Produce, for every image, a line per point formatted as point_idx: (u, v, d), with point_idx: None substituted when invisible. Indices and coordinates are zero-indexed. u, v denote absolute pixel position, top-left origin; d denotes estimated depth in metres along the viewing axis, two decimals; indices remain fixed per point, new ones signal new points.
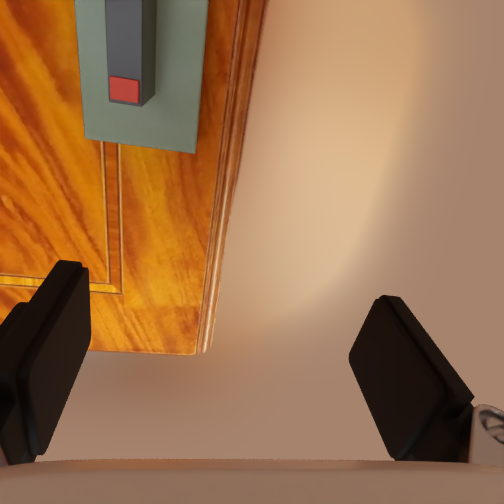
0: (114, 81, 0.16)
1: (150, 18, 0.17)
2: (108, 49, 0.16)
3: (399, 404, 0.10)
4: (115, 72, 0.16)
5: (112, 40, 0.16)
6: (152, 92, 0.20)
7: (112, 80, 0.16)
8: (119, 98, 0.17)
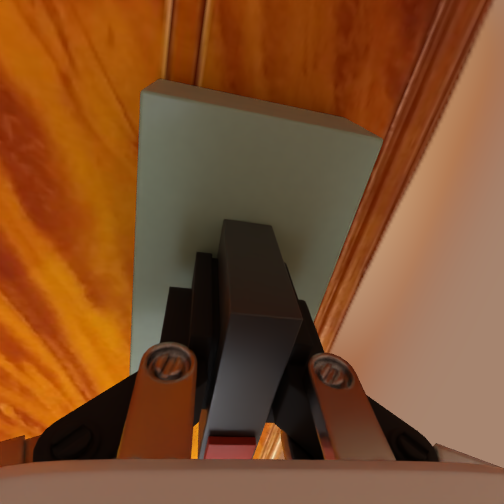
0: (215, 448, 0.09)
1: None
2: (212, 411, 0.09)
3: None
4: (218, 433, 0.09)
5: (222, 401, 0.08)
6: None
7: (212, 448, 0.09)
8: None
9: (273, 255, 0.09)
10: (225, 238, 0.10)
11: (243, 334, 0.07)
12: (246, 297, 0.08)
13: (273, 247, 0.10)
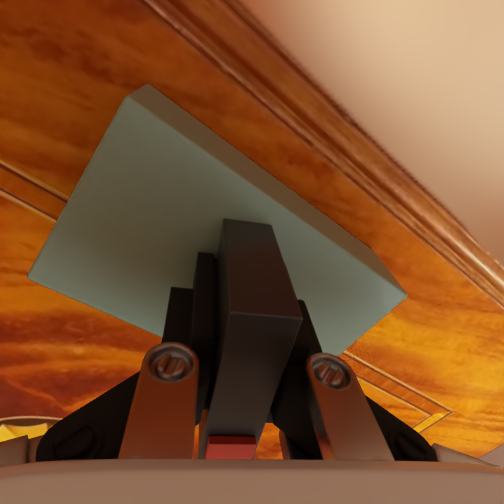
0: (215, 447, 0.09)
1: None
2: (212, 410, 0.09)
3: None
4: (218, 433, 0.09)
5: (222, 401, 0.08)
6: None
7: (212, 447, 0.09)
8: None
9: (273, 254, 0.09)
10: (225, 237, 0.10)
11: (243, 333, 0.07)
12: (246, 295, 0.08)
13: (273, 246, 0.10)
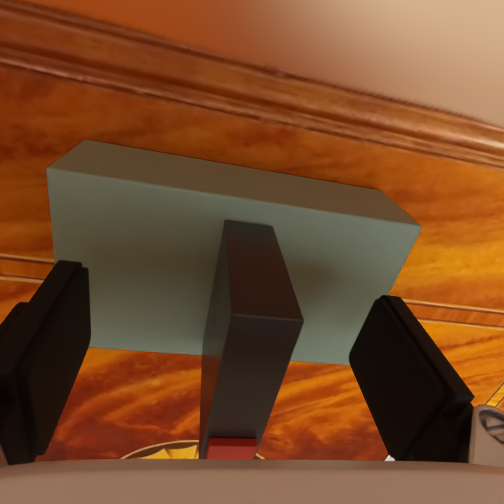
0: (216, 449, 0.09)
1: None
2: (213, 412, 0.09)
3: (399, 404, 0.10)
4: (219, 435, 0.09)
5: (223, 403, 0.08)
6: None
7: (213, 449, 0.09)
8: None
9: (274, 256, 0.09)
10: (226, 239, 0.10)
11: (244, 335, 0.07)
12: (247, 298, 0.08)
13: (274, 248, 0.10)
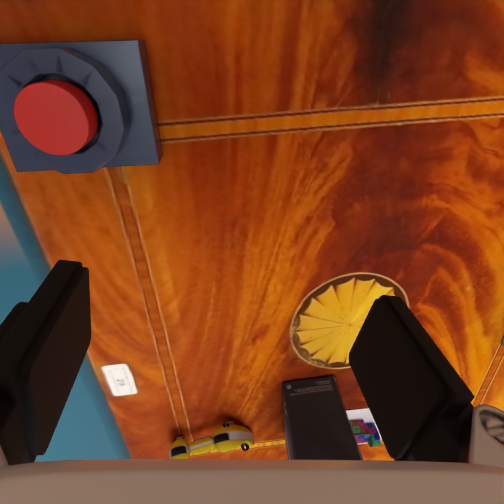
0: None
1: None
2: None
3: (399, 404, 0.10)
4: None
5: None
6: None
7: None
8: None
9: None
10: None
11: None
12: None
13: None
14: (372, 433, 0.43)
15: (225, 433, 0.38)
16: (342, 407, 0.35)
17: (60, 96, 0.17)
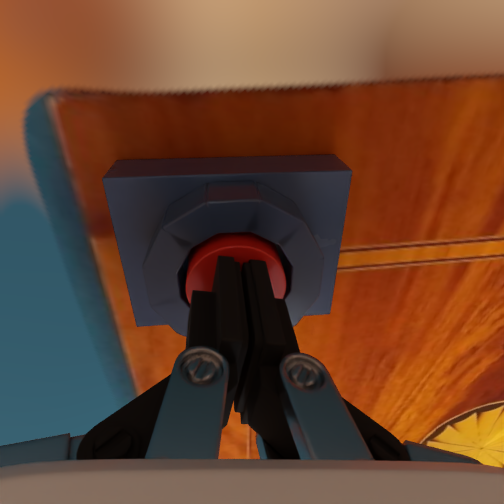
0: None
1: None
2: None
3: None
4: None
5: None
6: None
7: None
8: None
9: None
10: None
11: None
12: None
13: None
14: None
15: None
16: None
17: None
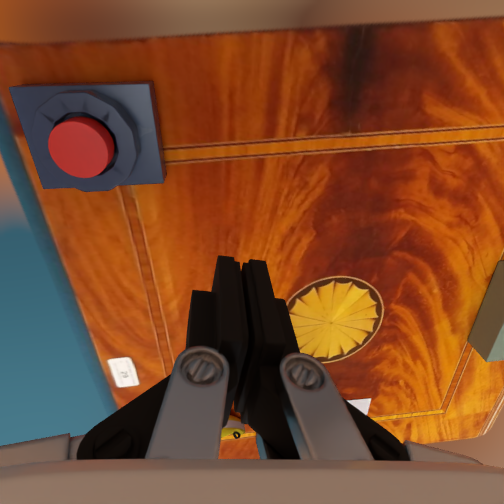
0: None
1: None
2: None
3: None
4: None
5: None
6: None
7: None
8: None
9: None
10: None
11: None
12: None
13: None
14: None
15: None
16: None
17: (86, 131, 0.21)
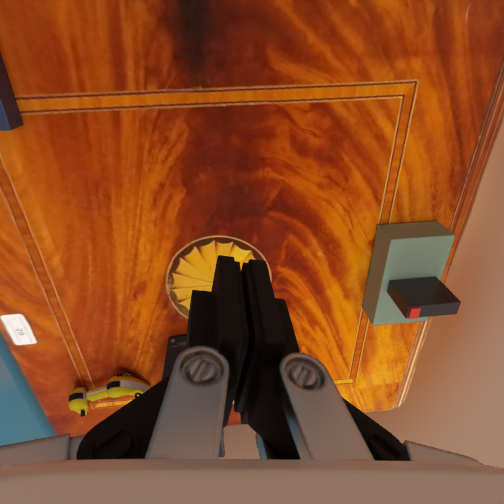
0: (418, 310, 0.34)
1: None
2: (430, 305, 0.34)
3: None
4: (421, 308, 0.35)
5: (433, 306, 0.35)
6: None
7: (419, 309, 0.34)
8: (410, 311, 0.34)
9: None
10: (442, 283, 0.37)
11: (454, 305, 0.35)
12: None
13: None
14: None
15: (116, 381, 0.43)
16: None
17: None
